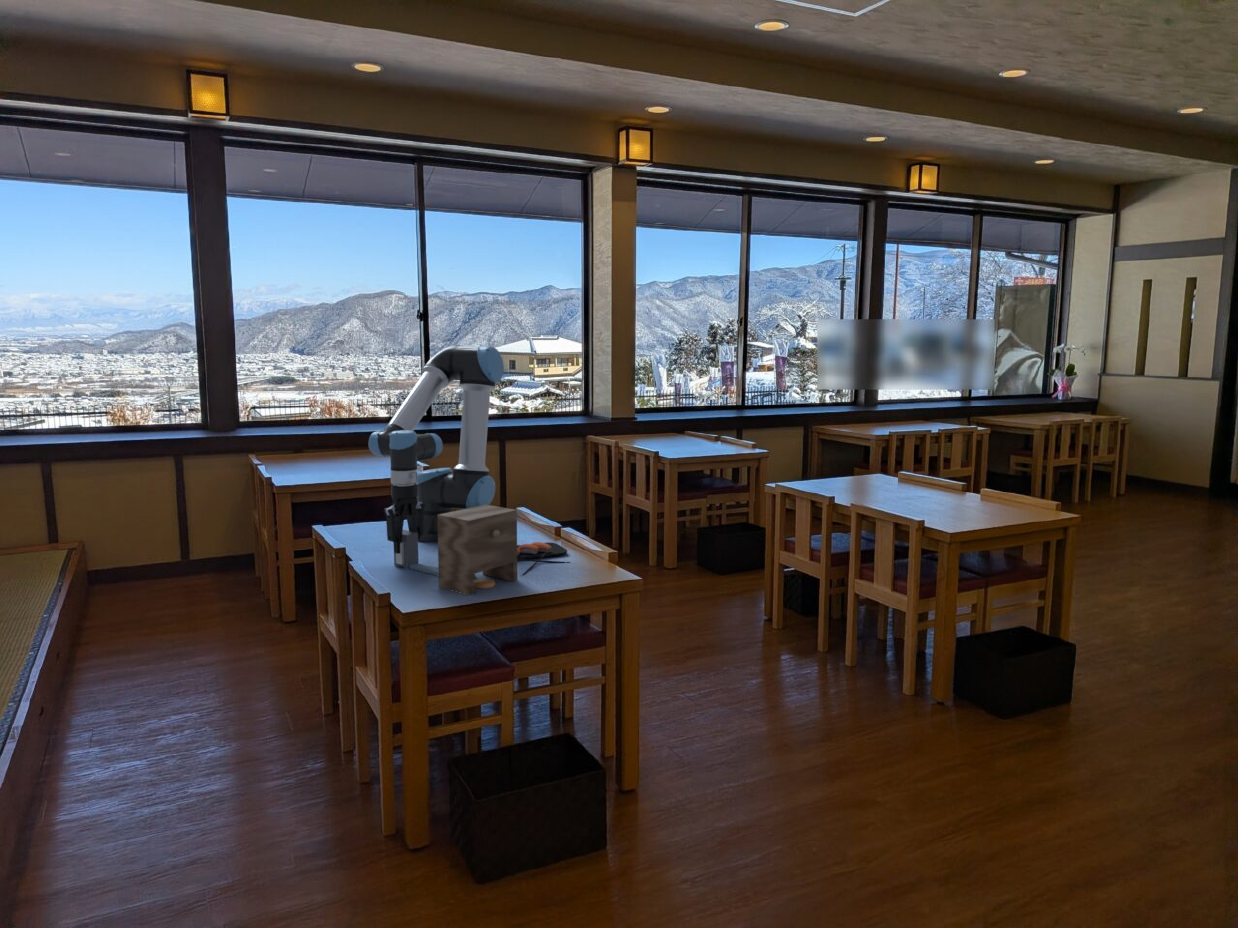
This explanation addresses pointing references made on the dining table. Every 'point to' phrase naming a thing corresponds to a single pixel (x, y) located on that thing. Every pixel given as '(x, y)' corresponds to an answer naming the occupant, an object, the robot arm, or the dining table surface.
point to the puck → (484, 583)
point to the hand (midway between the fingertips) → (406, 561)
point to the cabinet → (476, 546)
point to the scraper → (413, 554)
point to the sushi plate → (539, 552)
